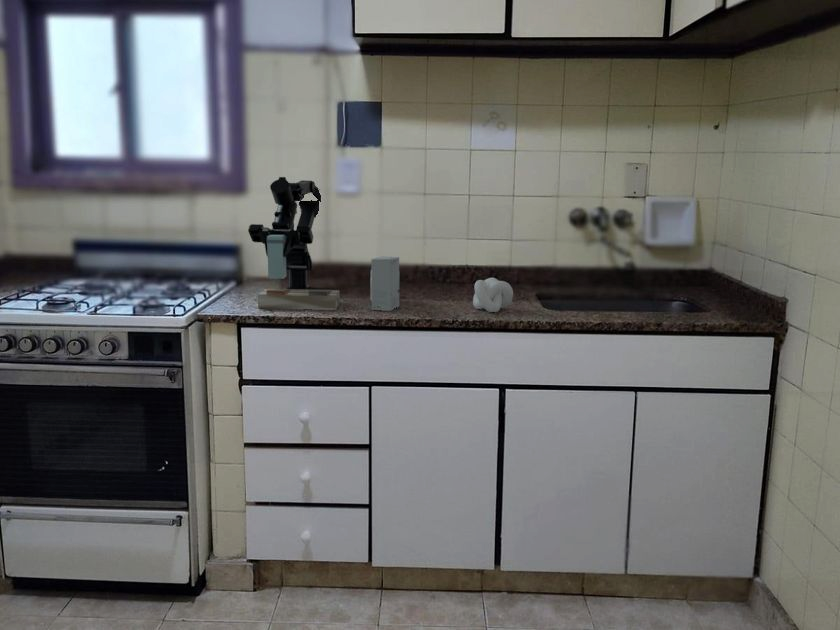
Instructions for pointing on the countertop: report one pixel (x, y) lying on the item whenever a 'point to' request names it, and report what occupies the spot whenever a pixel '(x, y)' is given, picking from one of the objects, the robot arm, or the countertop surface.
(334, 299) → the socket board
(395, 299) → the skincare box
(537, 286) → the countertop surface
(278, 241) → the teal lidded box
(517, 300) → the countertop surface
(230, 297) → the countertop surface
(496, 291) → the white knot
